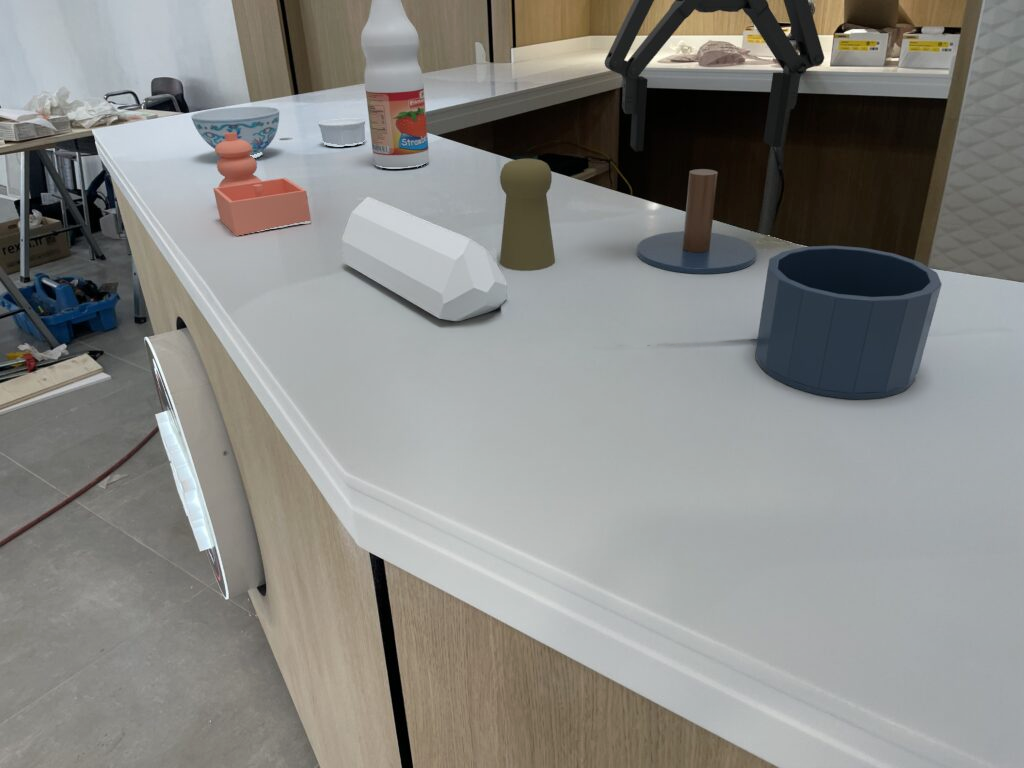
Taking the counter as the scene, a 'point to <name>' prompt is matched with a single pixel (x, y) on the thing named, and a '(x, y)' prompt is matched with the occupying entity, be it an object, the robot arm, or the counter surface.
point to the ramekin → (343, 130)
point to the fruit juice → (394, 87)
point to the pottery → (254, 192)
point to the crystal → (423, 262)
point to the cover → (698, 237)
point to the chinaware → (239, 125)
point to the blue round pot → (845, 320)
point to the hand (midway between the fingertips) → (704, 146)
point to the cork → (526, 216)
